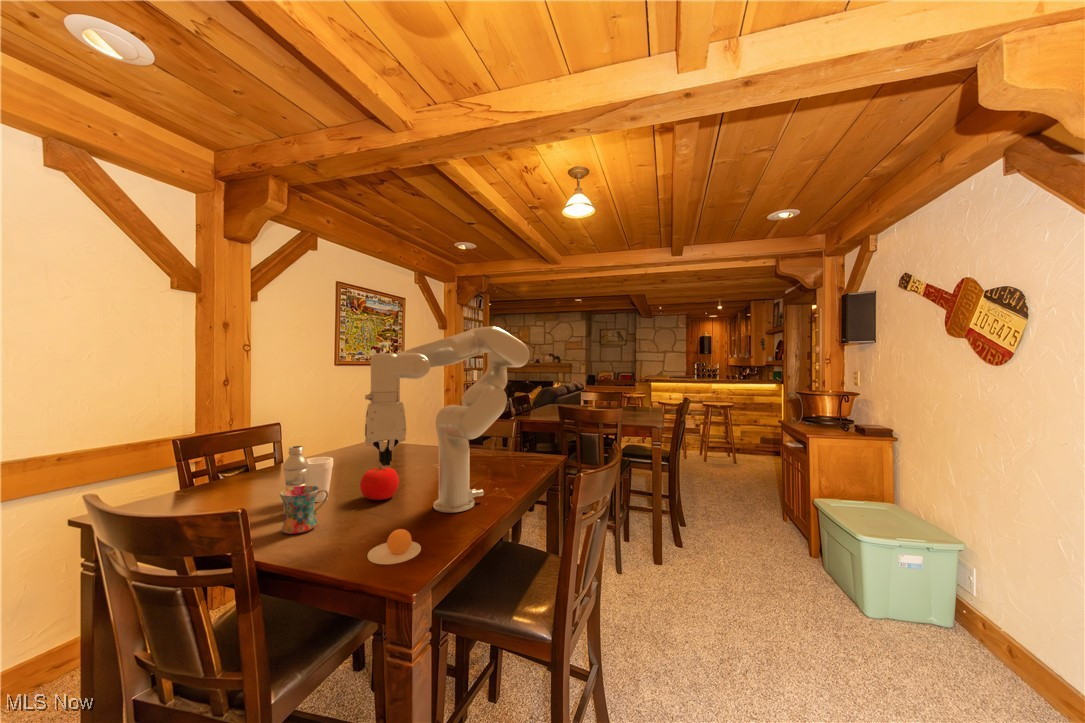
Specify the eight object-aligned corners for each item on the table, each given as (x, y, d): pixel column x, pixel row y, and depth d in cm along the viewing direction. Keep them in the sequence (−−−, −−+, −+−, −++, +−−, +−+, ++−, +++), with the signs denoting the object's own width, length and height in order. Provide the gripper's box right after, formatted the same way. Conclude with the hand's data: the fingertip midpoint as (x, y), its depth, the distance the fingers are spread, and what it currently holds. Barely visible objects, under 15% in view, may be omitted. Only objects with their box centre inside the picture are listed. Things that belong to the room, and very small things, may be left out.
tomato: (404, 493, 142) (404, 463, 142) (386, 506, 130) (386, 472, 130) (374, 492, 144) (374, 461, 144) (353, 504, 132) (353, 471, 132)
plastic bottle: (285, 520, 118) (285, 450, 118) (281, 513, 124) (281, 446, 124) (310, 515, 123) (310, 447, 123) (306, 508, 128) (306, 444, 128)
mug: (287, 540, 106) (287, 498, 106) (274, 530, 111) (274, 491, 111) (335, 525, 115) (335, 487, 115) (320, 517, 121) (320, 481, 121)
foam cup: (337, 499, 136) (337, 460, 136) (307, 506, 129) (307, 465, 129) (326, 493, 143) (326, 455, 143) (296, 500, 136) (296, 460, 136)
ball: (406, 525, 103) (411, 525, 98) (411, 549, 101) (415, 550, 97) (383, 533, 100) (387, 533, 95) (387, 556, 99) (391, 558, 94)
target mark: (411, 537, 107) (411, 536, 107) (428, 554, 97) (428, 553, 97) (361, 549, 100) (361, 548, 100) (374, 569, 90) (374, 568, 90)
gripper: (359, 400, 107) (359, 471, 107) (416, 397, 115) (416, 463, 115) (353, 398, 113) (353, 466, 113) (408, 395, 121) (408, 458, 121)
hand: (385, 464), depth 114 cm, fingers closed
